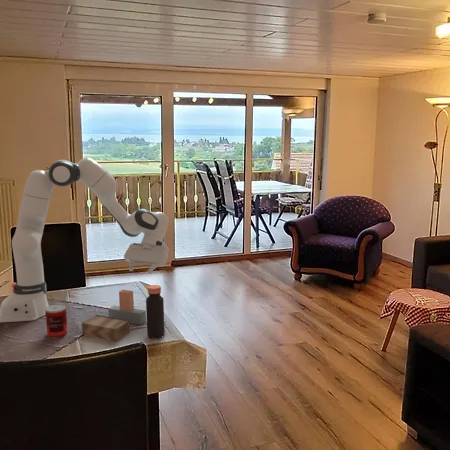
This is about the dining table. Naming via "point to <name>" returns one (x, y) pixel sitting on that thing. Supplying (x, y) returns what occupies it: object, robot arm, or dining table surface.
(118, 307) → the stub
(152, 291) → the bottle
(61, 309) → the canned food
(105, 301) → the dining table surface
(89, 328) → the block
